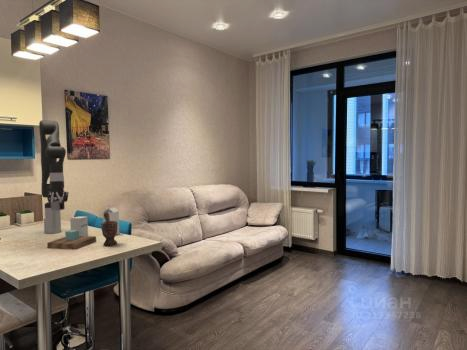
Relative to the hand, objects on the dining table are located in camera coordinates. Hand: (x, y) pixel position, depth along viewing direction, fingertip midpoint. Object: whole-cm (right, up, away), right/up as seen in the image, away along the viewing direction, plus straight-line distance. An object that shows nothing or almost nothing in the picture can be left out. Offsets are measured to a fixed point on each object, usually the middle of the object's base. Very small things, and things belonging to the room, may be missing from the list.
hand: (58, 209), depth 195 cm
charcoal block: (0, -1, 0) cm, 1 cm away
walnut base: (+11, -20, -5) cm, 23 cm away
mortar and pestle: (+34, -20, -7) cm, 40 cm away
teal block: (+11, -17, -5) cm, 21 cm away
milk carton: (+24, -19, +20) cm, 37 cm away
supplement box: (+6, -19, +15) cm, 25 cm away
